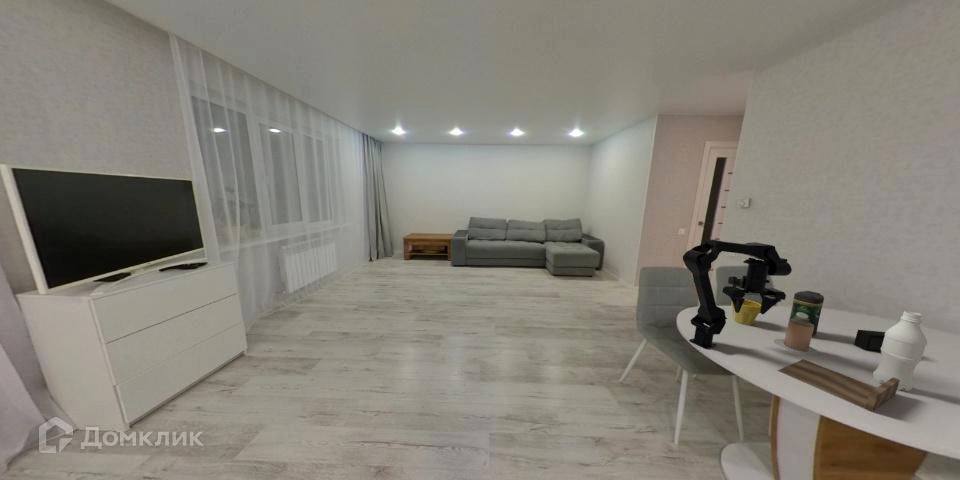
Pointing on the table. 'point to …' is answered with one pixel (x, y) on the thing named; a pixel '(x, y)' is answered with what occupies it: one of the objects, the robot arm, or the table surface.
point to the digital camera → (869, 340)
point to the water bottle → (901, 351)
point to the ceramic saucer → (809, 353)
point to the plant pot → (747, 312)
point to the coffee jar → (807, 307)
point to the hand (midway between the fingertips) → (749, 313)
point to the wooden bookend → (842, 384)
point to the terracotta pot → (799, 335)
